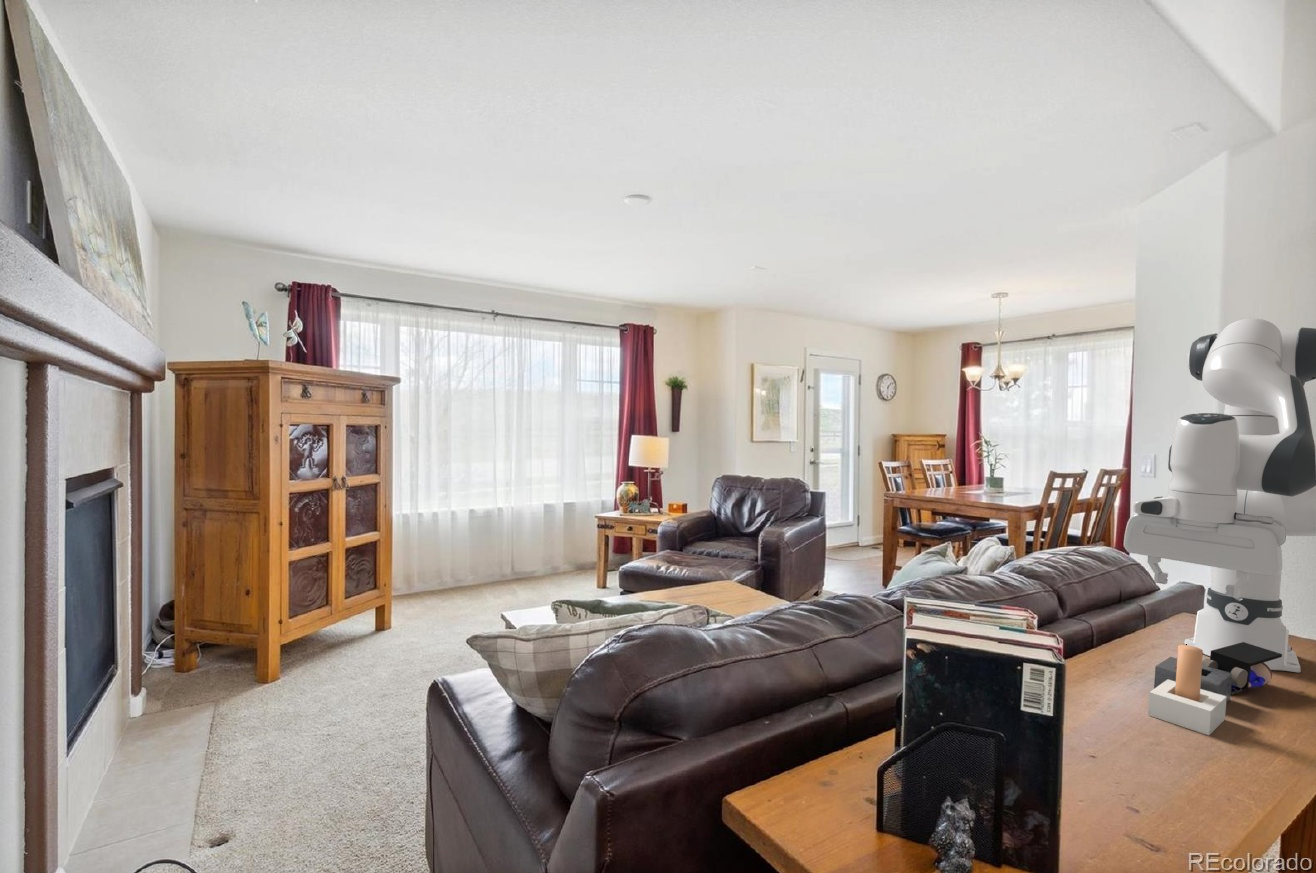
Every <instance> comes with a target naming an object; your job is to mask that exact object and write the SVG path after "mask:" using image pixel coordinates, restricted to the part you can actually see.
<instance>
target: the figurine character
mask: <svg viewBox="0 0 1316 873" xmlns="http://www.w3.org/2000/svg"><path fill="white" fill-rule="evenodd" d="M1280 657H1282V654H1280V653H1277V652H1274V651H1271V650H1267V649H1264V648H1261V647H1258V646H1254V645H1251V644H1248V643H1245V642H1241V643H1238V644H1234V645H1230V646H1227V647H1223V648H1219V649H1216V650H1212V651H1211V655H1210V656H1209V658H1205V659H1204V658H1203V659H1202V665H1203V666H1207V667H1211V668H1215V669H1218V670H1222V671H1226V672H1230V673H1232V683H1231V690H1233V691H1231V695H1236V694H1238V693H1239V694H1240V693H1241V692H1243V689H1245V690H1248V689H1249V688H1253V687H1254V688H1255V687H1263V686H1264V685H1268V684H1269V683H1270V682H1271V681H1272V679H1273V672H1272V670H1271V669H1270V668H1269V667H1268V666H1267V665H1266V664H1265V663H1264V662H1267V661H1270V660H1274V659H1277V658H1280Z"/></svg>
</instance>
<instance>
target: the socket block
mask: <svg viewBox="0 0 1316 873" xmlns="http://www.w3.org/2000/svg"><path fill="white" fill-rule="evenodd" d="M1175 687H1176V682H1175V681H1172V680H1166V681H1165V682H1163V683H1162V684H1160V685H1159V686H1158V687H1156V688H1155V689H1154V688H1153V689H1152V690H1150V691H1148V692H1149V694H1148V696H1149V697H1148V706H1147V707H1148V708H1147V715H1148V716H1149V717H1152V718H1156V719H1159V720H1161V721H1164V722H1168V723H1171V724H1174V725H1175V726H1176V725H1177V726H1179V727H1182V728H1185V729H1188V730H1192V731H1194V732H1197V733H1200V734H1203V735H1205V736H1210V735H1211V734H1212V733H1213V732H1215V730H1216V729H1217V728H1218V727H1219V726H1220V725H1221V724H1222V723H1223V722H1224V721H1225V720H1226V712H1227V711H1226V709H1227V704H1226V698H1227V696H1223V695H1220V694H1216V693H1213V692H1209V691H1206V690H1203V689H1200V701H1199V702H1197V701H1194V700H1190V699H1187V698H1184V697H1181V696H1177V695H1175Z"/></svg>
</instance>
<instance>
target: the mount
mask: <svg viewBox="0 0 1316 873" xmlns="http://www.w3.org/2000/svg"><path fill="white" fill-rule="evenodd" d="M1176 672H1177V657H1173V656H1169V657H1168V658H1166V659H1165V660H1163V661H1162V662H1160V663H1158V664H1156V665H1155V669H1154V681H1153V683H1154V684H1153V689H1155V688H1156V687H1158V686H1159V685H1160V684H1162V683H1163V682H1165V681H1166V680H1172V681H1175V682H1176ZM1231 683H1232V673H1230V672H1226V671H1222V670H1218V669H1215V668H1211V667H1207V666H1203V665H1202V672H1201V687H1200V689H1203V690H1206V691H1209V692H1213V693H1216V694H1220V695H1223V696H1227V698H1226V705H1227V704H1228V703H1229V702H1230V701H1231V697H1232V696H1231V695H1232V694H1231V692H1232V689H1231Z"/></svg>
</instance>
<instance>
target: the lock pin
mask: <svg viewBox="0 0 1316 873" xmlns="http://www.w3.org/2000/svg"><path fill="white" fill-rule="evenodd" d="M1203 654H1204V653H1203V650H1202V649H1200V648H1197V647H1193V646H1189V645H1186V644H1179V645H1178V646H1177V657H1176V658H1177V672H1176V687H1175V695H1177V696H1181V697H1184V698H1187V699H1190V700H1194V701H1197V702H1199V701H1200V687H1201V672H1202V661H1203Z"/></svg>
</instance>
